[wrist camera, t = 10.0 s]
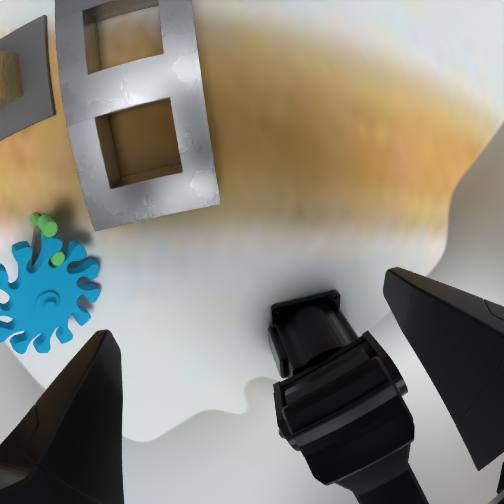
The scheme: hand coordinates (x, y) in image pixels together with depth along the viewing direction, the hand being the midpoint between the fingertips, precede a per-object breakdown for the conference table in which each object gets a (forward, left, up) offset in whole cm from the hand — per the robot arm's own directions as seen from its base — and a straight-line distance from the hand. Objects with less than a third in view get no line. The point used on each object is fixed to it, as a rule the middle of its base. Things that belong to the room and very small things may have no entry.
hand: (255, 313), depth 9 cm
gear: (+13, +3, -13) cm, 19 cm away
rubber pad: (+14, -12, -13) cm, 23 cm away
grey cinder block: (+4, -8, -13) cm, 16 cm away
